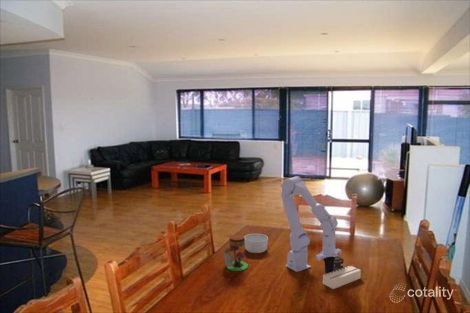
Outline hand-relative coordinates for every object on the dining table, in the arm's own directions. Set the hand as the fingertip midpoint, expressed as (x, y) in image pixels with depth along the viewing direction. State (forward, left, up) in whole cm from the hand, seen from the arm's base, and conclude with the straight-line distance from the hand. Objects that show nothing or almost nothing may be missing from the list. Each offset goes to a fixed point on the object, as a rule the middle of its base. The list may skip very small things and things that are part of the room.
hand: (328, 271), depth 176 cm
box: (+4, +1, -2) cm, 4 cm away
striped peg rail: (0, -7, -2) cm, 8 cm away
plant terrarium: (-30, +33, -2) cm, 44 cm away
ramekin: (-9, +45, -2) cm, 45 cm away
